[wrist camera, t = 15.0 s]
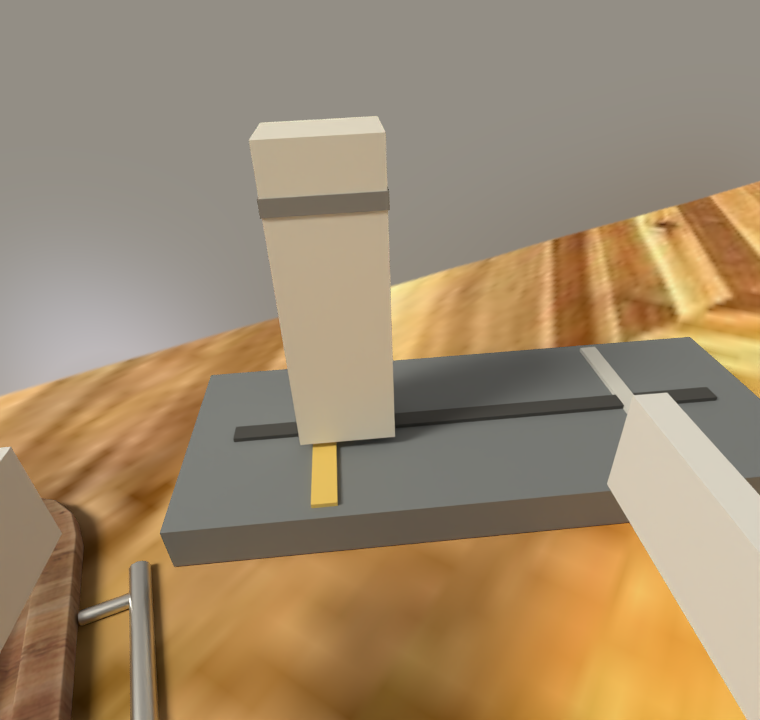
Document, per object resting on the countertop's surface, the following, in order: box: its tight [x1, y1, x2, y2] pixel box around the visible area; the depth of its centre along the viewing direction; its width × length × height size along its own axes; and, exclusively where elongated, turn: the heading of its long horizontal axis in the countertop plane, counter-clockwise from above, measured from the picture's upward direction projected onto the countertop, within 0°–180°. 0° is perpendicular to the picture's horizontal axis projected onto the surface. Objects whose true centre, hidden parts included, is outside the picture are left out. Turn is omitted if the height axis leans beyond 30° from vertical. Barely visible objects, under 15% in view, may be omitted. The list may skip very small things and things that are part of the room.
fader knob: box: [249, 116, 395, 445], centre depth 20 cm, size 4×3×12 cm
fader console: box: [160, 337, 760, 567], centre depth 24 cm, size 26×10×2 cm, turn 95°
